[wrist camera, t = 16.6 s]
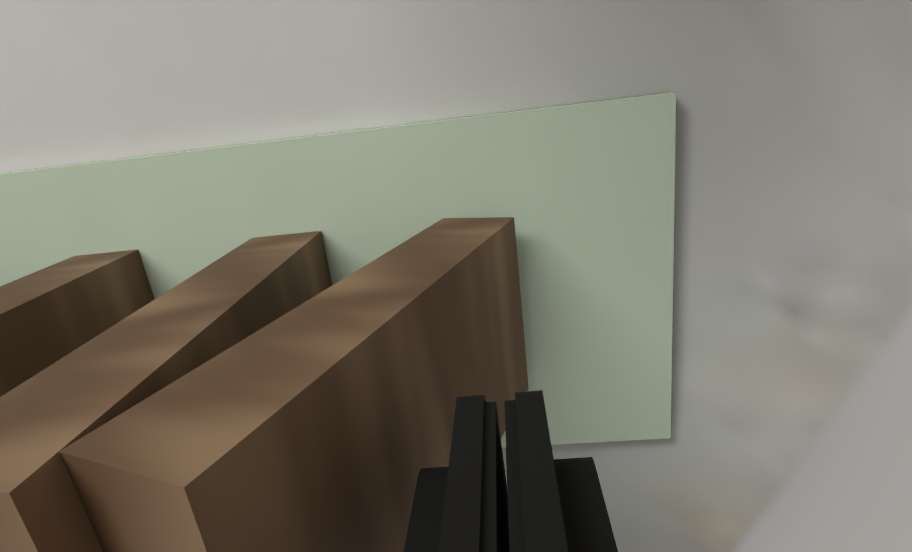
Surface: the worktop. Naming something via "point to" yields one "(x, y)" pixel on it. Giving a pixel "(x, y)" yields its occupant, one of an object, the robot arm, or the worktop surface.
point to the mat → (421, 229)
